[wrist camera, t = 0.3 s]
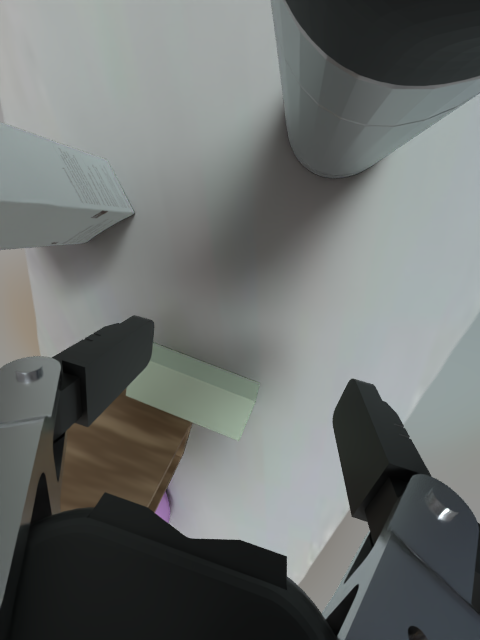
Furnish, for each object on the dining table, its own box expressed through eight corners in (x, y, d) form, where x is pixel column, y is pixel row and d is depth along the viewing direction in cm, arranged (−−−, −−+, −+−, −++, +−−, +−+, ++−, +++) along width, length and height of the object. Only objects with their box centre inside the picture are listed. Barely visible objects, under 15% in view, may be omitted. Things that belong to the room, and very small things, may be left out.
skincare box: (86, 243, 30) (-89, 267, 16) (55, 192, 28) (-168, 171, 15) (139, 211, 27) (-21, 206, 13) (108, 152, 25) (-109, 79, 12)
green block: (146, 339, 33) (130, 353, 30) (259, 383, 32) (255, 401, 29) (140, 379, 36) (125, 395, 33) (244, 420, 35) (238, 441, 32)
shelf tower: (103, 378, 38) (-536, 910, 9) (194, 414, 36) (-196, 1165, 8) (100, 419, 41) (-350, 883, 13) (183, 453, 40) (-105, 1050, 12)
